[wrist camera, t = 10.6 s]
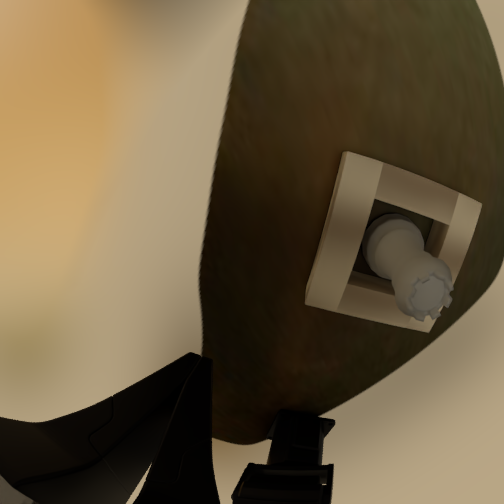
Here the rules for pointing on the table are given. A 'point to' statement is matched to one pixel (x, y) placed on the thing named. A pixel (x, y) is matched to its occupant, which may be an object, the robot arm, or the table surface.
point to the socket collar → (353, 227)
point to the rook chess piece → (407, 266)
